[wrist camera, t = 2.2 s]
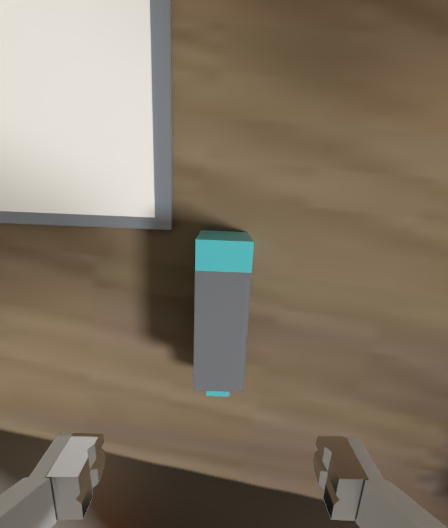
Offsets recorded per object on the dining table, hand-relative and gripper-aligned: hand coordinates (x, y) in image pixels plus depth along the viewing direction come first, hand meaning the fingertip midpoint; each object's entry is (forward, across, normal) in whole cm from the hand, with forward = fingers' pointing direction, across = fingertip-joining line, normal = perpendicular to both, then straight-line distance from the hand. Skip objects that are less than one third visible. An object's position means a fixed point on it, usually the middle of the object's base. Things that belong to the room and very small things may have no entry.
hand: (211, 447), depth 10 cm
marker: (+13, 0, 0) cm, 13 cm away
